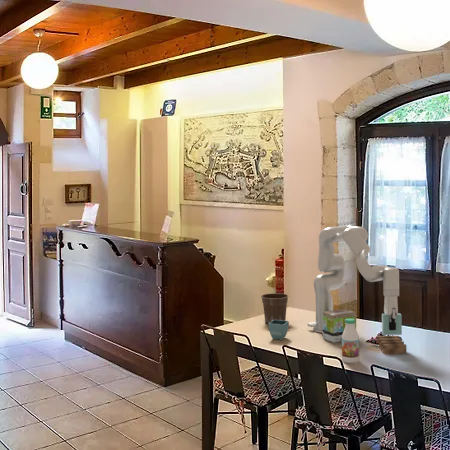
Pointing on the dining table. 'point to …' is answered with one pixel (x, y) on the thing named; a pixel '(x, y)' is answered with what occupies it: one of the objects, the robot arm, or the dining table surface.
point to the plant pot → (274, 306)
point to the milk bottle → (350, 342)
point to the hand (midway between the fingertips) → (391, 328)
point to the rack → (391, 345)
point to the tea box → (336, 324)
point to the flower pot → (278, 329)
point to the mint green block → (386, 325)
